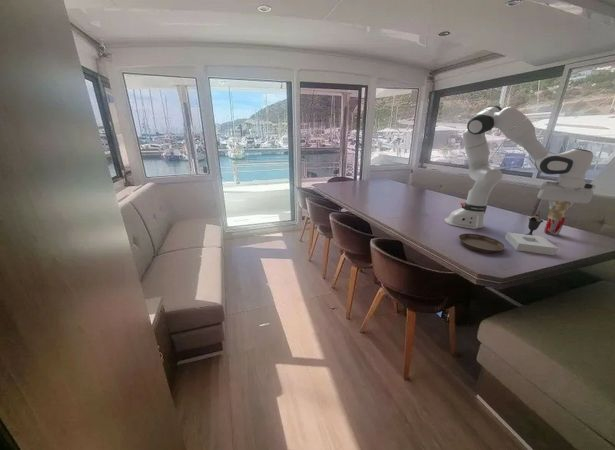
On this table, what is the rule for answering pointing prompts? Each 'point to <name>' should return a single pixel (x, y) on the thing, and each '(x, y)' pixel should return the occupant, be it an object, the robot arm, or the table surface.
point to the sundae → (534, 223)
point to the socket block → (531, 243)
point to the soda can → (554, 226)
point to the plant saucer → (481, 243)
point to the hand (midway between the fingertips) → (557, 209)
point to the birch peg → (558, 210)
